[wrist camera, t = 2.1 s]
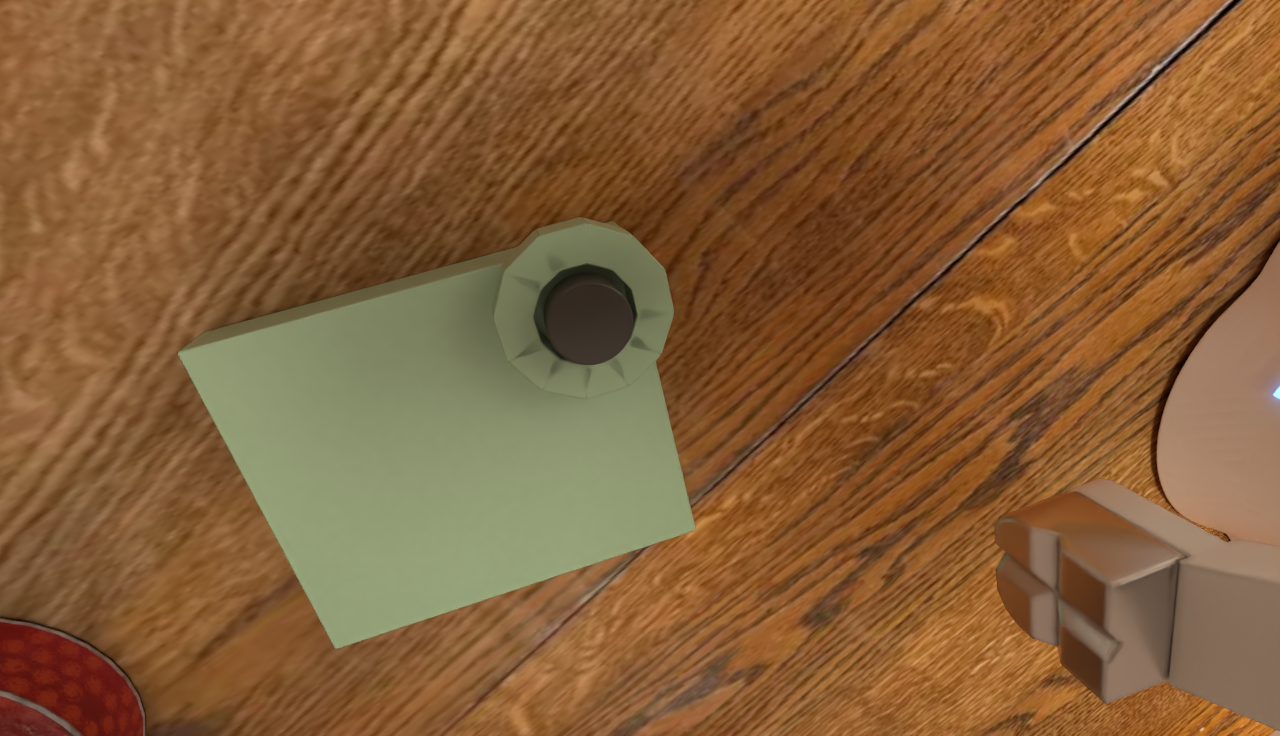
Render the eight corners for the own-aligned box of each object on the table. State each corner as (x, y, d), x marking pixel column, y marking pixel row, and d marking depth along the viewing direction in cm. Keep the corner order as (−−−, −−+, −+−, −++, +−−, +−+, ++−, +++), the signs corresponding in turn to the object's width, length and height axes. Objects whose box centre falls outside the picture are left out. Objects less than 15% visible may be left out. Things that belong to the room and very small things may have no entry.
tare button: (614, 262, 21) (622, 271, 20) (633, 338, 22) (642, 351, 21) (532, 285, 21) (536, 295, 19) (556, 361, 22) (560, 376, 20)
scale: (628, 193, 24) (651, 204, 20) (699, 497, 28) (726, 545, 25) (191, 310, 22) (141, 343, 19) (345, 612, 27) (326, 679, 24)
